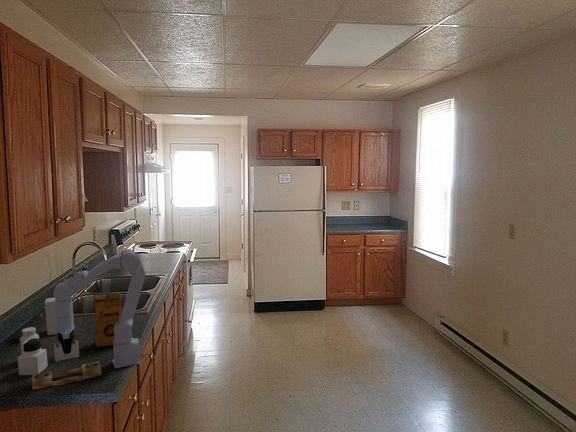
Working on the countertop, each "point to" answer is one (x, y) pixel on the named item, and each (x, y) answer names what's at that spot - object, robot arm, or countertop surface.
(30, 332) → the supplement bottle
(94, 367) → the wooden frame
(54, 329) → the robot arm
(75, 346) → the white box with knobs
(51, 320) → the skincare box
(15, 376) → the countertop surface
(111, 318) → the coffee package
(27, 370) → the medicine bottle
